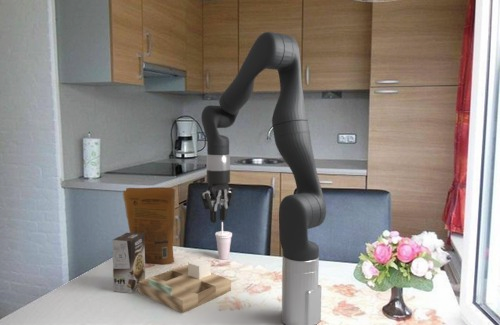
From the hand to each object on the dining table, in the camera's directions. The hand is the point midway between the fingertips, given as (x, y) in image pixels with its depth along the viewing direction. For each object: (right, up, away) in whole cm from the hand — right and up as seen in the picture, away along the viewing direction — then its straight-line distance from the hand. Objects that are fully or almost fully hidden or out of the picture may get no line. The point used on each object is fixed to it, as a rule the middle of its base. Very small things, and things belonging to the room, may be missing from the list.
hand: (218, 220), depth 131 cm
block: (-5, -16, -5) cm, 18 cm away
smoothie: (0, -17, +21) cm, 27 cm away
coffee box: (-27, -20, -5) cm, 34 cm away
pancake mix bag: (-26, -18, +17) cm, 35 cm away
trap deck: (-9, -20, -9) cm, 24 cm away
